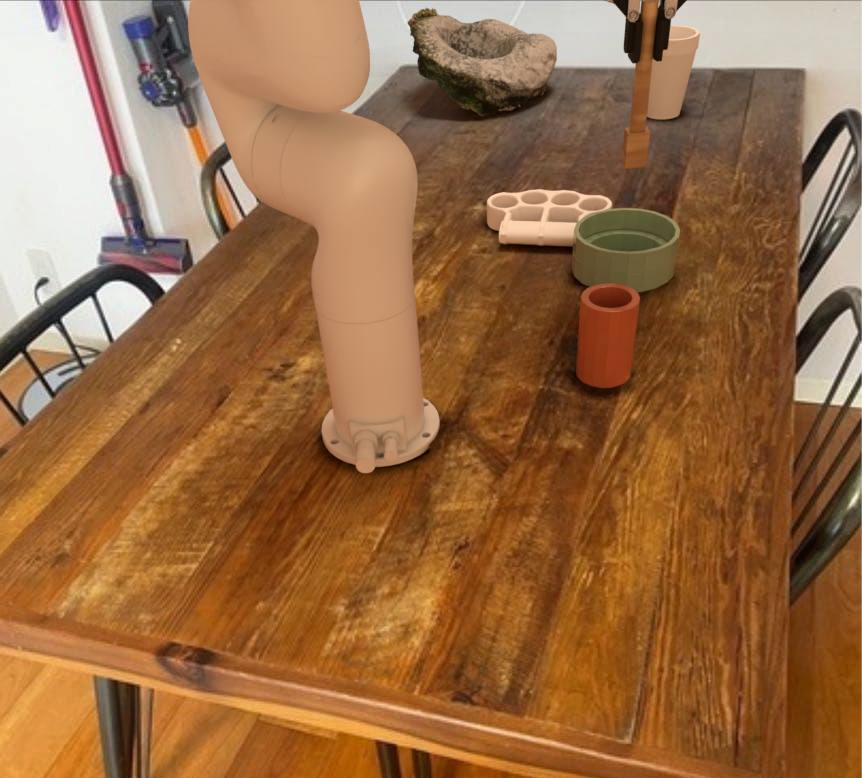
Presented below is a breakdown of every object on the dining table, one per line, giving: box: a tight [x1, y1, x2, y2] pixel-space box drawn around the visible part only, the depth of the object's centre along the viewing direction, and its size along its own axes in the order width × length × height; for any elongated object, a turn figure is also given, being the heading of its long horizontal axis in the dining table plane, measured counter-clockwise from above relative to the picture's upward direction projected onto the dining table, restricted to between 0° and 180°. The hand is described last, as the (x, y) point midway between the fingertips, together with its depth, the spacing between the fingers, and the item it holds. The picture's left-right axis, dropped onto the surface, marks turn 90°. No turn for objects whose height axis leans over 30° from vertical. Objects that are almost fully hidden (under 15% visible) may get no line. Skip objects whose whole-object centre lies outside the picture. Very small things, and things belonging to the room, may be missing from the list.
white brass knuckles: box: [486, 188, 613, 248], centre depth 123 cm, size 3×18×15 cm
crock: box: [575, 283, 641, 389], centre depth 93 cm, size 6×6×10 cm
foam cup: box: [647, 24, 701, 120], centre depth 151 cm, size 10×9×13 cm
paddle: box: [621, 0, 660, 170], centre depth 96 cm, size 2×3×17 cm
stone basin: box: [407, 6, 558, 117], centre depth 164 cm, size 29×30×15 cm
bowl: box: [571, 207, 681, 293], centre depth 111 cm, size 13×13×6 cm
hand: (644, 57), depth 94 cm, fingers closed on paddle, 1 cm apart
